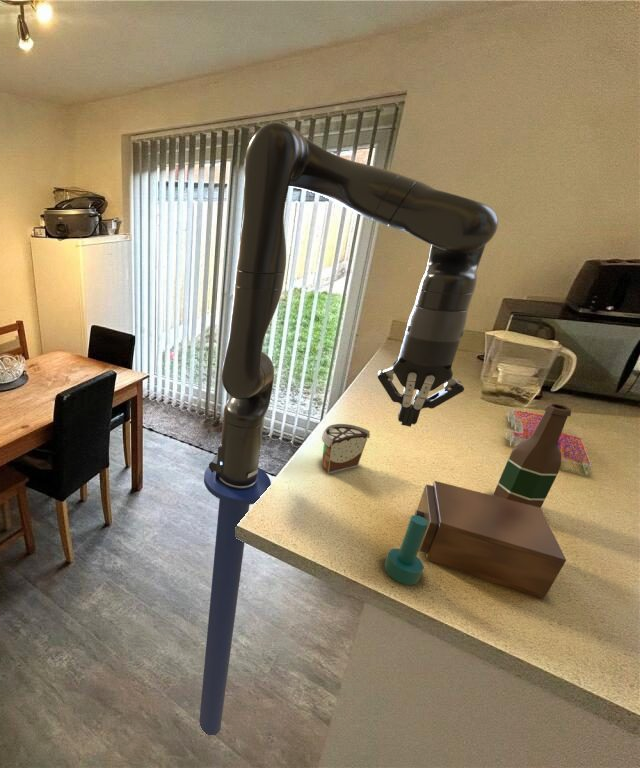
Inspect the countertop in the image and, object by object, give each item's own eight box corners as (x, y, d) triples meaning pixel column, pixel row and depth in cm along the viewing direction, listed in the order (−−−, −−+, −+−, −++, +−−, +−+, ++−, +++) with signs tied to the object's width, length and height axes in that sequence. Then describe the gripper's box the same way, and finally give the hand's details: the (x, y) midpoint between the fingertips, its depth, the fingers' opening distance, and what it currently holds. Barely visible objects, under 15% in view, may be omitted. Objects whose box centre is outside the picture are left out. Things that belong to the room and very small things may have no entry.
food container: (343, 452, 104) (351, 419, 101) (362, 465, 99) (371, 430, 95) (305, 461, 101) (311, 427, 97) (323, 474, 96) (330, 439, 92)
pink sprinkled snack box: (502, 414, 122) (508, 399, 120) (572, 429, 113) (579, 413, 111) (503, 456, 101) (510, 439, 99) (588, 479, 92) (599, 461, 90)
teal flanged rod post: (383, 576, 69) (401, 524, 64) (384, 556, 73) (400, 505, 68) (419, 590, 66) (440, 536, 61) (417, 568, 70) (437, 516, 65)
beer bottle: (547, 512, 82) (599, 411, 73) (524, 522, 80) (574, 419, 70) (504, 490, 89) (546, 395, 80) (481, 498, 87) (522, 401, 77)
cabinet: (426, 559, 72) (440, 522, 68) (422, 514, 83) (434, 480, 79) (544, 599, 64) (566, 560, 61) (522, 543, 75) (540, 507, 71)
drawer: (412, 548, 73) (422, 519, 70) (409, 508, 83) (418, 482, 80) (525, 586, 65) (542, 555, 63) (508, 537, 75) (521, 509, 72)
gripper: (479, 333, 65) (448, 424, 72) (386, 323, 71) (365, 408, 78) (488, 345, 59) (452, 443, 66) (386, 333, 66) (363, 424, 72)
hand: (405, 424), depth 72 cm, fingers closed
